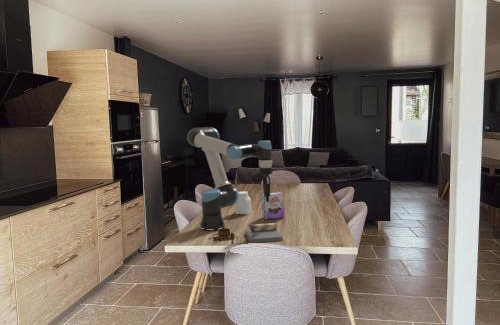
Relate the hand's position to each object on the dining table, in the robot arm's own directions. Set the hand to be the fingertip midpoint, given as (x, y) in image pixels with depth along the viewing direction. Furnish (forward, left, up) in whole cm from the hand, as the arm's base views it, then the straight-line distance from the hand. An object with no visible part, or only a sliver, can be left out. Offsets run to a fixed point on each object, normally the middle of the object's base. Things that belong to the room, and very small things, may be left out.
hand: (267, 206), depth 221 cm
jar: (-9, +46, -14) cm, 49 cm away
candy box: (+9, +28, -14) cm, 33 cm away
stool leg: (-4, -6, -12) cm, 14 cm away
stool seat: (-5, -12, -14) cm, 19 cm away
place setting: (-27, -11, -15) cm, 33 cm away
